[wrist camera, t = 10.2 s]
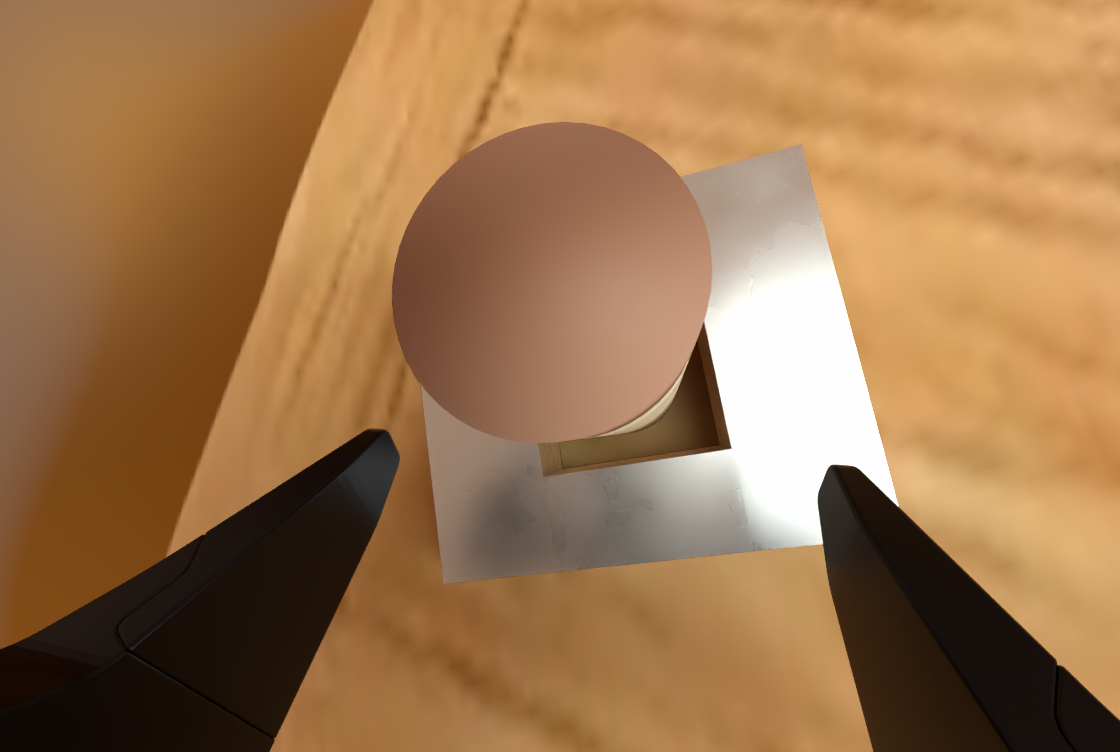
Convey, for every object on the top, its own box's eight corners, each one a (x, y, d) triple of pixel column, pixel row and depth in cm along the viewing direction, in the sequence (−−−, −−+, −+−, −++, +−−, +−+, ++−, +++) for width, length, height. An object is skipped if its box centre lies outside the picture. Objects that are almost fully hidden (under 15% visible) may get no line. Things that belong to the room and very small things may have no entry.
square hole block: (859, 514, 15) (906, 535, 12) (478, 558, 18) (443, 583, 15) (777, 192, 17) (801, 144, 14) (442, 277, 20) (405, 251, 17)
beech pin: (697, 400, 17) (785, 331, 5) (604, 451, 17) (472, 503, 5) (643, 312, 18) (603, 61, 6) (556, 363, 18) (348, 235, 6)
